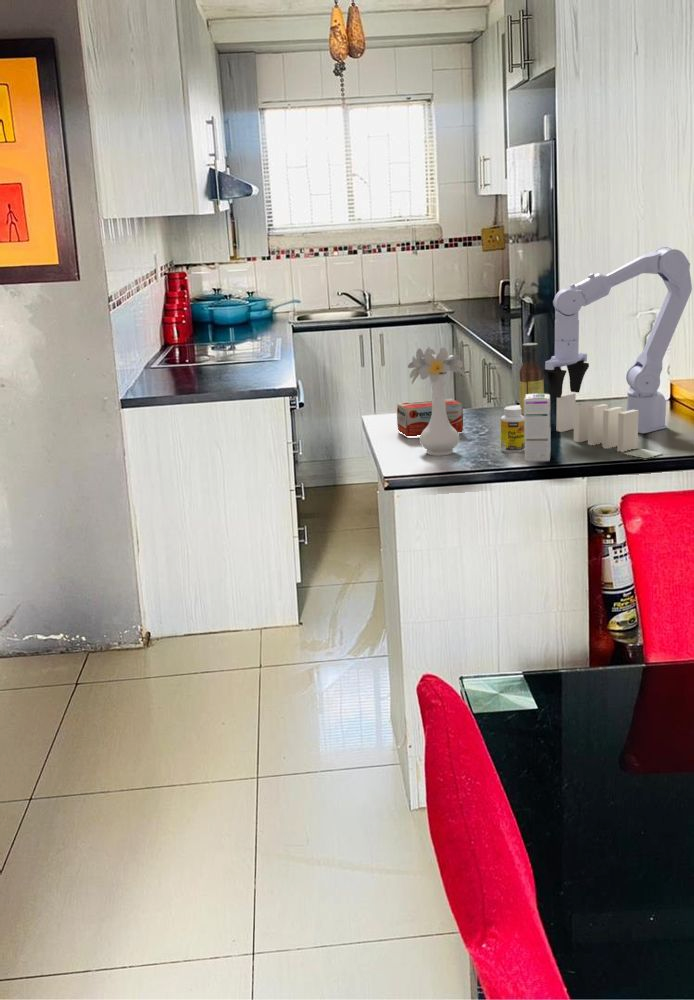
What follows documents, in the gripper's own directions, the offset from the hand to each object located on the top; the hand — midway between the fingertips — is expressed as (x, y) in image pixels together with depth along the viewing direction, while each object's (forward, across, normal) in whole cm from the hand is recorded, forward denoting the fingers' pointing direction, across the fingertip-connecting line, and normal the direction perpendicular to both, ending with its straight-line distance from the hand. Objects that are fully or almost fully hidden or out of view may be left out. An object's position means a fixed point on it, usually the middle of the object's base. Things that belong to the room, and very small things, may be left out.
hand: (565, 394), depth 261 cm
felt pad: (+10, +8, +27) cm, 30 cm away
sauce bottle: (+10, -7, -16) cm, 20 cm away
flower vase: (+10, +34, -12) cm, 38 cm away
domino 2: (+10, +4, +8) cm, 13 cm away
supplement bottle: (+10, +23, +1) cm, 25 cm away
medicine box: (+10, +21, -27) cm, 35 cm away
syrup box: (+10, +25, +10) cm, 28 cm away
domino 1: (+10, -2, -1) cm, 10 cm away
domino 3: (+10, +5, +13) cm, 17 cm away
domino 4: (+10, +6, +17) cm, 20 cm away
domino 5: (+10, +6, +22) cm, 24 cm away
